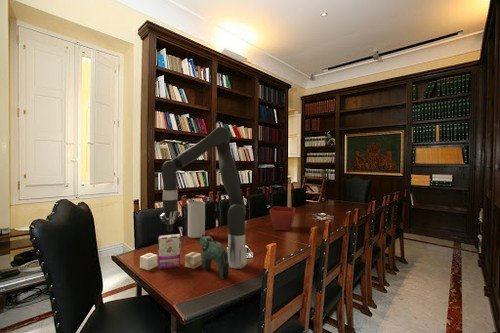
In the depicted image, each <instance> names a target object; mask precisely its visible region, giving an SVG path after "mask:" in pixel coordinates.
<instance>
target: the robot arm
mask: <svg viewBox="0 0 500 333" xmlns="http://www.w3.org/2000/svg"><path fill="white" fill-rule="evenodd" d="M230 137H231V136H230V132H229V130H228V129H227V128H226V127H224V126H218V127H216V128H214V130H213V131H211V132H210V134H208V135H207V136H205V137H204V138H203V139H201V140H200V141H199V142H198V141H197V143H195V144H194V145H192V146H191V147H189V148H187V149H185V150H184V151H182V152H181V153H179V154H178V155H177V156H176V157H174V158H172V159H170V160H166V161H165V162H164V163H163V164H162V166H161V174H162V179H163V182H162V184H163V185H162V188H163V190H162V208H163V210H162V214H159V216H158V218H160V221H161V222H163V224H164V225H166V231H167V232H170V233H171V232H172V231H173V229H174V227H173V226H174V223H176V222H177V220H178V218H179V217H180V215H181V212H180V211H178V208H177V207H178V204H179V203H178V200H179V199H178V198H179V197H178V179H177V172H178V171H180V170H181V169H182V168H184V167H186V166H189V164H191V163H192V162H194V161H196V160H197V159H199V158H200V157H202V155H204V154H205V153H206V152H208V151H209V150H211V149H213V148H214V147H215V148H216V150H217V155H218V167H219V174H220V178H221V182H222V185H223V187H224V190H225V192H226V194H227V196H228V204H229V208H228V211H227V231H228V233H227V237H228V238H227V255H228V263H229V269H230V268H231V269H242V268H245V267H246V266H247V261H248V260H247V255H248V254H247V252H248V250H247V249H248V248H247V247H246V216H247V215H246V213H247V208H246V206H245V202H244V200H243V196H242V192H241V185H240V179H239V172H238V170H237V164H236V162H235V159H234V157H233V156H234V155H233V154H232V149H231V143H230V142H231V141H230Z"/></svg>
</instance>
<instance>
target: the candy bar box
mask: <svg viewBox="0 0 500 333" xmlns="http://www.w3.org/2000/svg"><path fill="white" fill-rule="evenodd" d="M157 242H158V246H157V247H158V252H157V253H158V254H157V267H158V270H164V269H173V268H181V265H182V264H181V262H182V260H181V259H182V258H181V257H182V256H181V255H182V254H181V253H182V251H181V233H175V234H164V235H163V234H162V235H159V236H158V241H157Z"/></svg>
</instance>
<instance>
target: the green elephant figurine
mask: <svg viewBox="0 0 500 333" xmlns="http://www.w3.org/2000/svg"><path fill="white" fill-rule="evenodd" d="M211 234H212V236H213V237H214V236H215V235H214V233H213V232H210V234H209V235H203V234H202V237H200V238H199V247H200V248H201V250H202V253H201V269H202V270H204V271H207V270H210V269H211V268H212V261H214V262H216V265H217V266H218V271H219V279H221V280H226V279H228V278H229V273H230V272H229V269H230V267H229V263H228V251H227V250H226V248H225V246H224V245H223V243H221V242H220V241H214V239H213V238H212V236H211Z"/></svg>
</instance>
